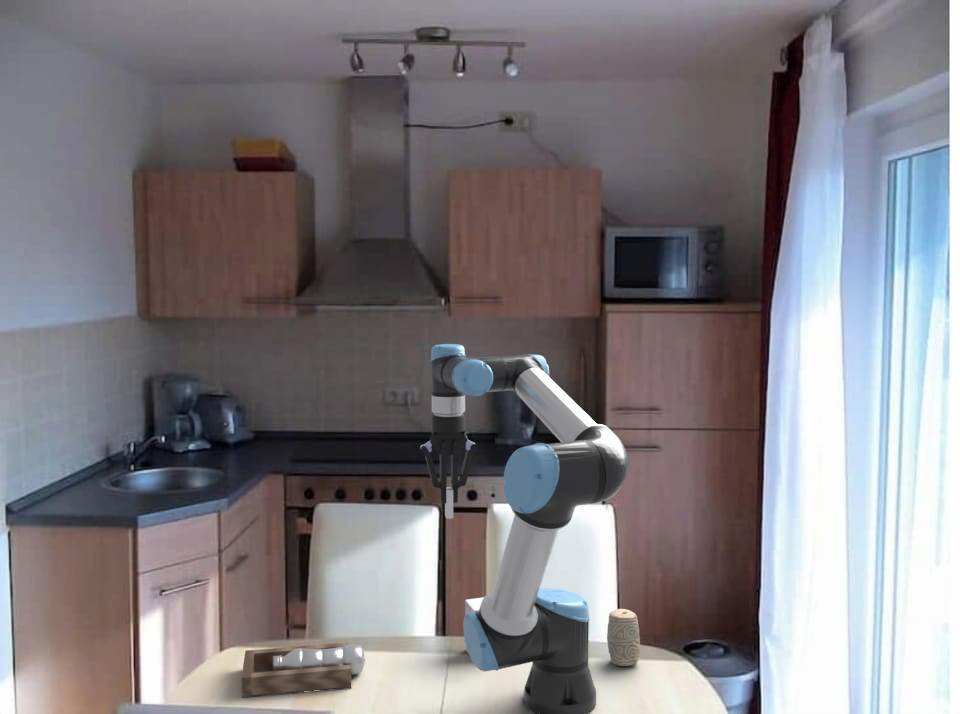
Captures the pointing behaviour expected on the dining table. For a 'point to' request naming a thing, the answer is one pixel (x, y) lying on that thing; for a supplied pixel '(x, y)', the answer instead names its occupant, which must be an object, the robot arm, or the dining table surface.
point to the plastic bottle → (322, 658)
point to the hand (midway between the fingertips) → (449, 516)
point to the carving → (623, 637)
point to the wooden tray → (289, 674)
